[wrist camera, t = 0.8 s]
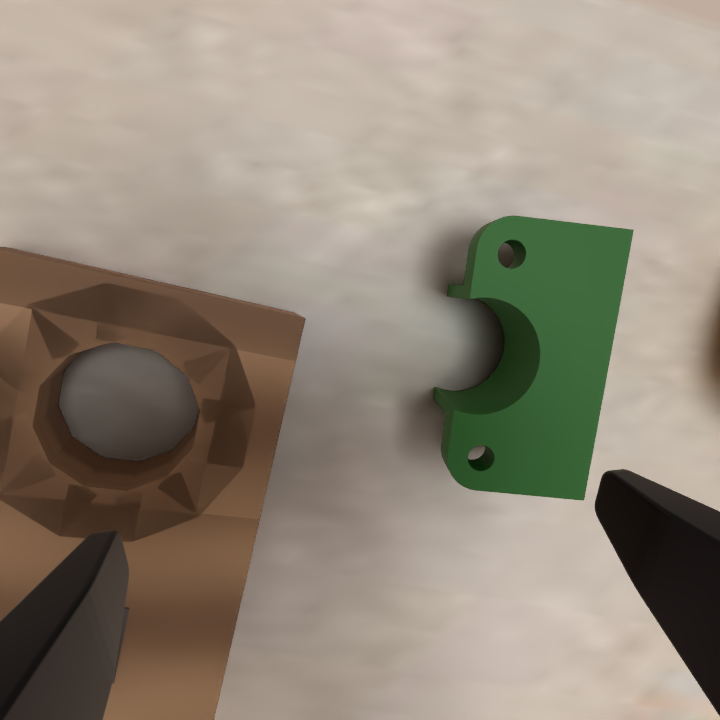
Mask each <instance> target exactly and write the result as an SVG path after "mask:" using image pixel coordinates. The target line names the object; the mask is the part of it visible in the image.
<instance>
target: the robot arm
mask: <svg viewBox="0 0 720 720" xmlns="http://www.w3.org/2000/svg"><path fill="white" fill-rule="evenodd" d="M595 512H596V515H597V517H598V519H599V521H600V523H601V525H602V527H603V529H604V530H605V532H606V534H607V536H608V538H609V540H610V542H611V544H612V545H613V547H614V549H615V551H616V553H617V555H618V557H619V559H620V560H621V562H622V564H623V566H624V568H625V570H626V572H627V574H628V575H629V577H630V579H631V581H632V582H633V584H634V586H635V588H636V589H637V591H638V592H639V594H640V596H641V597H642V599H643V600H644V602H645V603H646V605H647V606H648V608H649V609H650V611H651V613H652V614H653V616H654V617H655V619H656V620H657V622H658V623H659V625H660V626H661V628H662V629H663V631H664V632H665V634H666V635H667V637H668V638H669V640H670V641H671V643H672V644H673V646H674V647H675V649H676V651H677V652H678V654H679V655H680V657H681V658H682V660H683V661H684V663H685V664H686V666H687V667H688V669H689V670H690V672H691V673H692V675H693V676H694V678H695V679H696V681H697V682H698V684H699V685H700V687H701V688H702V690H703V692H704V693H705V695H706V696H707V698H708V699H709V701H710V702H711V704H712V705H713V707H714V708H715V710H716V711H717V713H718V714H719V716H720V512H719V511H717V510H715V509H713V508H710V507H708V506H706V505H704V504H702V503H699V502H697V501H695V500H693V499H691V498H688V497H686V496H684V495H682V494H680V493H677V492H675V491H673V490H671V489H669V488H666V487H664V486H662V485H660V484H657V483H655V482H653V481H651V480H649V479H646V478H644V477H642V476H640V475H638V474H635V473H633V472H631V471H629V470H625V469H621V470H612V471H607V472H605V473H604V474H603V475H602V478H601V482H600V486H599V489H598V493H597V497H596V501H595ZM128 581H129V566H128V561H127V557H126V554H125V550H124V546H123V542H122V538H121V535H120V533H119V532H118V531H116V530H110V531H101V532H95V533H92V534H90V535H89V536H88V537H86V538H85V539H84V540H83V541H82V542H81V543H80V544H79V545H78V546H77V547H76V548H75V549H74V550H73V551H72V552H71V553H70V554H69V555H68V556H67V557H66V558H65V559H64V560H63V561H62V562H61V563H60V564H58V565H57V566H56V567H55V568H54V569H53V570H52V571H51V572H50V573H49V574H48V575H47V576H46V577H45V578H44V579H43V580H42V581H41V582H40V583H39V584H38V585H37V586H36V587H35V588H34V589H33V590H32V591H30V592H29V593H28V594H27V595H26V596H25V597H24V598H23V599H22V600H21V601H20V602H19V603H18V604H17V605H16V606H15V607H14V608H13V609H12V610H11V611H10V612H9V613H8V614H7V615H6V616H5V617H4V618H2V619H1V620H0V720H103V717H104V713H105V710H106V706H107V702H108V698H109V694H110V690H111V686H112V682H113V678H114V673H115V668H116V662H117V656H118V650H119V643H120V636H121V629H122V622H123V615H124V609H125V602H126V595H127V588H128Z"/></svg>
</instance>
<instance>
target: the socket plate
mask: <svg viewBox="0 0 720 720" xmlns="http://www.w3.org/2000/svg"><path fill="white" fill-rule="evenodd" d="M304 323H305V318H303V317H301V316H299V315H298V314H296V313H294V312H289V311H285V310H281V309H276V308H272V307H267V306H263V305H259V304H254V303H250V302H245V301H241V300H237V299H232V298H228V297H223V296H219V295H215V294H210V293H206V292H201V291H197V290H193V289H188V288H184V287H179V286H175V285H171V284H166V283H162V282H157V281H153V280H149V279H144V278H140V277H135V276H131V275H127V274H122V273H118V272H113V271H109V270H105V269H100V268H96V267H91V266H87V265H83V264H78V263H74V262H69V261H65V260H61V259H56V258H52V257H47V256H43V255H39V254H34V253H30V252H25V251H21V250H17V249H12V248H6V247H0V620H1V619H2V618H4V617H5V616H6V615H7V614H8V613H9V612H10V611H11V610H12V609H13V608H14V607H15V606H16V605H17V604H18V603H19V602H20V601H21V600H22V599H23V598H24V597H25V596H26V595H27V594H28V593H29V592H30V591H32V590H33V589H34V588H35V587H36V586H37V585H38V584H39V583H40V582H41V581H42V580H43V579H44V578H45V577H46V576H47V575H48V574H49V573H50V572H51V571H52V570H53V569H54V568H55V567H56V566H57V565H58V564H60V563H61V562H62V561H63V560H64V559H65V558H66V557H67V556H68V555H69V554H70V553H71V552H72V551H73V550H74V549H75V548H76V547H77V546H78V545H79V544H80V543H81V542H82V541H83V540H84V539H85V538H86V537H88V536H89V535H90V534H92V533H95V532H101V531H110V530H116V531H118V532H119V533H120V535H121V538H122V542H123V546H124V550H125V554H126V557H127V561H128V566H129V581H128V588H127V595H126V602H125V609H124V615H123V622H122V629H121V636H120V643H119V650H118V656H117V662H116V668H115V673H114V678H113V682H112V686H111V690H110V694H109V698H108V702H107V706H106V710H105V713H104V717H103V720H214V717H215V713H216V708H217V704H218V700H219V695H220V691H221V687H222V682H223V678H224V673H225V669H226V665H227V660H228V656H229V651H230V647H231V643H232V638H233V634H234V630H235V625H236V621H237V616H238V612H239V608H240V603H241V599H242V594H243V590H244V586H245V581H246V577H247V573H248V568H249V564H250V559H251V555H252V551H253V546H254V542H255V537H256V533H257V529H258V524H259V520H260V516H261V511H262V507H263V502H264V498H265V494H266V489H267V485H268V480H269V476H270V472H271V467H272V463H273V459H274V454H275V450H276V445H277V441H278V437H279V432H280V428H281V424H282V419H283V415H284V410H285V406H286V402H287V397H288V393H289V388H290V384H291V380H292V375H293V371H294V367H295V362H296V358H297V353H298V349H299V345H300V340H301V336H302V331H303V327H304ZM111 342H114V343H119V344H124V345H130V346H135V347H140V348H146V349H151V350H155V351H157V352H158V353H159V354H160V355H162V356H163V357H164V358H165V359H167V360H168V361H169V362H170V363H172V364H173V365H174V366H175V367H177V368H178V369H179V370H180V371H182V372H183V373H184V374H185V375H187V377H188V379H189V382H190V385H191V387H192V390H193V393H194V395H195V398H196V401H197V403H198V406H199V412H198V417H197V421H196V425H195V426H194V427H193V429H192V430H191V431H190V432H189V433H188V434H187V435H186V436H185V437H184V438H183V439H182V441H181V442H180V443H179V444H178V445H177V446H176V447H175V448H174V449H173V450H171V451H169V452H166V453H163V454H160V455H157V456H154V457H152V458H149V459H146V460H143V461H140V462H135V461H127V460H119V459H111V458H103V457H101V456H99V455H98V454H97V453H95V452H94V451H92V450H91V449H89V448H88V447H86V446H85V445H84V444H82V443H81V442H79V441H78V440H76V439H75V438H73V437H72V435H71V433H70V431H69V428H68V426H67V424H66V422H65V420H64V417H63V415H62V413H61V411H60V408H59V406H58V400H59V394H60V389H61V383H62V378H63V372H64V369H65V368H66V367H67V366H68V365H69V364H70V363H71V362H72V361H73V360H74V359H75V358H76V357H77V356H78V354H79V353H80V352H81V351H84V350H88V349H91V348H94V347H98V346H101V345H104V344H108V343H111Z"/></svg>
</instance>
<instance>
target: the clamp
mask: <svg viewBox="0 0 720 720" xmlns="http://www.w3.org/2000/svg"><path fill="white" fill-rule="evenodd" d="M632 236H633V230H630V229H622V228H613V227H605V226H597V225H588V224H580V223H572V222H563V221H555V220H546V219H538V218H530V217H521V216H507V217H503V218H500V219H498V220H495V221H493V222H491V223H488V224H486V225H485V226H483V227H482V228H481V229H480V230H479V231H477V233H476V234H475V235H474V237H473V238H472V240H471V243H470V246H469V250H468V257H467V264H466V271H465V278H464V285H449V286H448V293H447V296H449V297H457V298H465V299H473V298H476V299H478V300H480V301H482V302H484V303H485V304H487V305H488V306H489V307H490V308H491V309H492V310H493V311H494V312H495V314H496V315H497V317H498V318H499V320H500V322H501V325H502V327H503V331H504V338H505V345H504V352H503V355H502V359H501V361H500V363H499V365H498V367H497V368H496V370H495V371H494V373H493V374H492V375H491V376H490V377H489V378H488V379H487V380H485V381H484V382H483V383H481V384H479V385H478V386H475V387H473V388H470V389H467V390H462V391H448V390H443V389H439V388H437V387H435V390H434V397H433V398H434V399H435V401H436V402H437V403H438V404H439V406H440V407H441V408H442V410H443V411H444V412H445V413H446V415H445V423H444V430H443V437H442V444H441V452H442V457H443V460H444V462H445V464H446V466H447V467H448V469H449V471H450V473H451V475H452V476H453V478H454V479H455V480H456V481H457V482H458V483H459V484H460V485H462V486H464V487H466V488H468V489H472V490H479V491H489V492H500V493H510V494H521V495H532V496H542V497H553V498H564V499H574V500H584V497H585V491H586V486H587V480H588V475H589V470H590V464H591V459H592V453H593V448H594V442H595V437H596V432H597V426H598V421H599V415H600V410H601V404H602V399H603V393H604V388H605V383H606V377H607V372H608V366H609V361H610V355H611V350H612V344H613V339H614V334H615V328H616V323H617V317H618V312H619V306H620V301H621V295H622V290H623V285H624V279H625V274H626V268H627V263H628V257H629V252H630V246H631V241H632ZM503 243H507V244H509V245H510V246H511V247H512V249H513V251H514V260H513V263H512V264H511V265H510V266H509V267H508V268H506V267H504V266H503V265H501V263H500V262H499V260H498V250H499V248H500V246H501V245H502V244H503ZM479 445H484V446H485V451H484V453H483V455H482V456H481V457H479V458H478V459H474V460H470V459H468V455H469V452H470V451H471V450H472V449H473V448H474V447H476V446H479Z"/></svg>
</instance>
